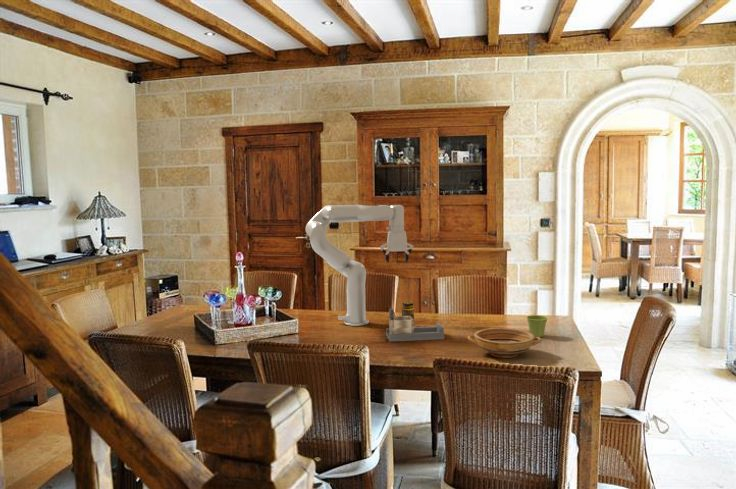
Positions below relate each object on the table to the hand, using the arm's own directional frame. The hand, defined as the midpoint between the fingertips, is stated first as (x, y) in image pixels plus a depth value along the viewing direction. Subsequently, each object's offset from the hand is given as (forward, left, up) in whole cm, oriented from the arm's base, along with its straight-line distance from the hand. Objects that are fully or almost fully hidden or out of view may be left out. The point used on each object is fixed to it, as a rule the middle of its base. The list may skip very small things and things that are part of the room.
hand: (397, 262), depth 299 cm
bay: (+2, -36, -30) cm, 47 cm away
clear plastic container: (-4, -36, -29) cm, 47 cm away
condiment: (+2, -16, -31) cm, 35 cm away
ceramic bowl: (+34, -68, -31) cm, 82 cm away
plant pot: (+58, -43, -31) cm, 78 cm away
